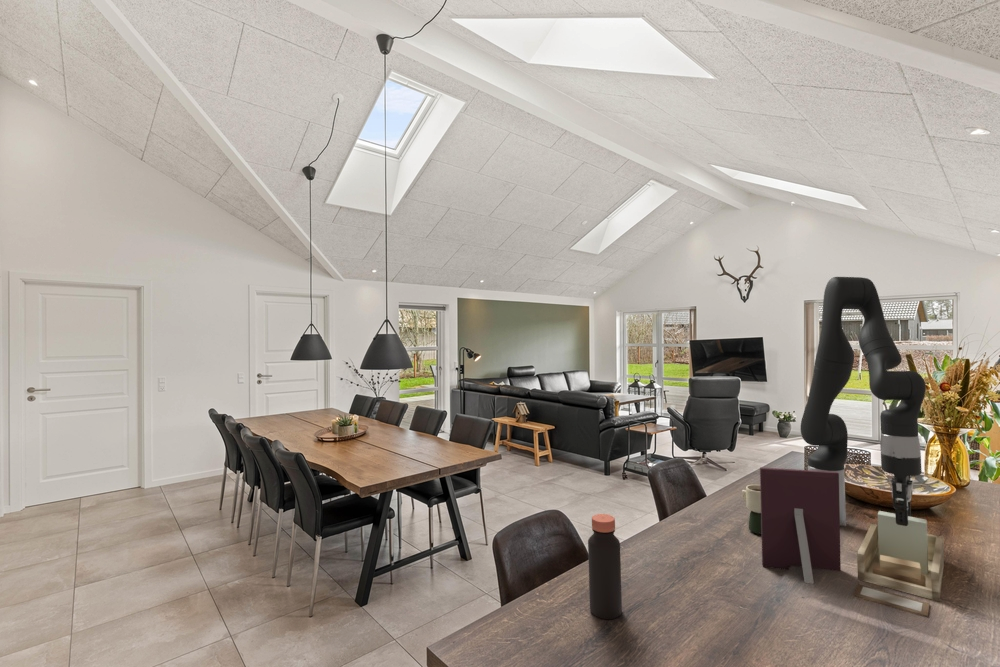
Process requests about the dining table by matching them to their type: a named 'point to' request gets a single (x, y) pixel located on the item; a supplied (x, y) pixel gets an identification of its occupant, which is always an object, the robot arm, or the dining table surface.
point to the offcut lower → (899, 576)
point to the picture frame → (800, 520)
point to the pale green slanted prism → (903, 539)
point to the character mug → (753, 506)
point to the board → (892, 600)
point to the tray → (865, 563)
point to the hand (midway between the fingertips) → (903, 519)
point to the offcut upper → (900, 567)
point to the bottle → (604, 568)
